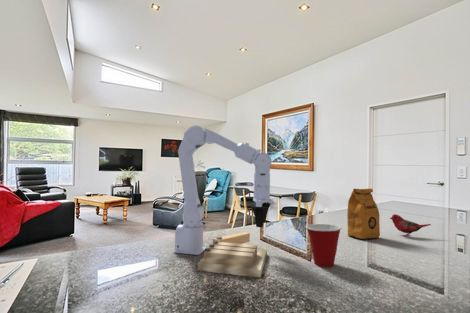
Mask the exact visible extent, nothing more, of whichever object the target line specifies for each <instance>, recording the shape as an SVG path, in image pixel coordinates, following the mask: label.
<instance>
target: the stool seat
mask: <svg viewBox="0 0 470 313" xmlns="http://www.w3.org/2000/svg"><path fill="white" fill-rule="evenodd" d="M203 252H204V253H203V254H204V255H203V258H201V259H200V261H198V263H197V271H201V272H209V273H219V274H225V275H226V274H227V275H236V276H244V277H252V278H253V277H254V278H261V277H262V274H263V269H264V266H265V262H266V260H267V255H268V248H261V247H258V244H248V243H242V244H238V243H227V242H218V241H213V240H212V244H209V247H207V248H206V249H205V250H204V251H203Z"/></svg>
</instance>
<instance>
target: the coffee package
mask: <svg viewBox="0 0 470 313" xmlns="http://www.w3.org/2000/svg"><path fill="white" fill-rule="evenodd" d="M373 192H374V189H373V188H353V189H352V192H351V194H350V196H349V198H348V200H347V201H348V202H347V216H346V217H347V219H346V220H347V236H348V237H351V236H352V238H355V239H358V240H359V239H360V240H365V239H368V238H369V240H370V239H371V238H372V239H379V238H380V236H381V232H380V211H379V207H378V205H377V203H376V201H375V199H374V197H373V194H372V193H373Z"/></svg>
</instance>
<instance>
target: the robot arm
mask: <svg viewBox="0 0 470 313" xmlns="http://www.w3.org/2000/svg"><path fill="white" fill-rule="evenodd" d="M205 144H208V145H211V144H216V145H218V146H220V147H222V148H224V149H227V150H230V151H231V152H233V153H234V155H235V158H237V159H240V160H242V161H244V162H245V163H248V164H250V165H252V164H253V166H254V174H253V198H252V201H253V202H254V203H255V205H251V207H250V208H251V210H252V213H253V216H254V221H255V226H256V228H263V227H264V224H265V223H267V222H266V221H267V218H268V217H267V216H268V212H269V208H270V207H271V205H272V203H271V202H274V199H273V198H270V195H271V190H270V189H271V172H270V171H271V169H270V166H271V165H272V157H271V156H270V155H269V154H268V153H266V152H262V150H261V149H259V148H258V149H257V148H254V147H253V146H250V143H248V142H240V143H236V142H234V141H232V140H230V139H229V138H227V137H225V136H223V135H221V134H219V133H217V132H215V131H213V130H211V129H208V128H205V127H204V128H203V127H201V126H199V125H192V126H190V127H189V128H188V129H187V130H186V131H185V132H184V133H183V138H182V140H181V143H180V145H179V147H178V149H177V153H178V162H179V167H180V176H181V182H182V184H181V185H182V191H183V197H184V199H183V200H184V201H183V213H182V217H181V219H182V222H183V223H182V224H178V225H177V227H176V229H175V231H174V232H175V233H174V250H173V253H175V254H176V253H177V254H187V255H196V256H197V255H198V256H199V255H201V254H202V253H203V252H205V249H206V248H208V247H207V246H204V222H203V221H202V220H203V218H204V216H205V210H204V208H203V207H202V206H201V201H200V200H201V199H200V198H199V194H198V187H197V186H198V185H197V179H196V177H197V176H196V171H195V163H194V156H193V155H194V154H195V152H197V150H198V149H199V148H201V147H203V146H204V145H205Z"/></svg>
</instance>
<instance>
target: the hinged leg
mask: <svg viewBox="0 0 470 313" xmlns="http://www.w3.org/2000/svg"><path fill="white" fill-rule="evenodd" d="M250 234H251V233H249V232H246V231H243V232H238V233H233V234H228V235H227V234H226V235H223V236H216V237H214V238H212V242H213V241H218V242H227V243H238V244H247V243H249V242H250V238H251V235H250Z"/></svg>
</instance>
